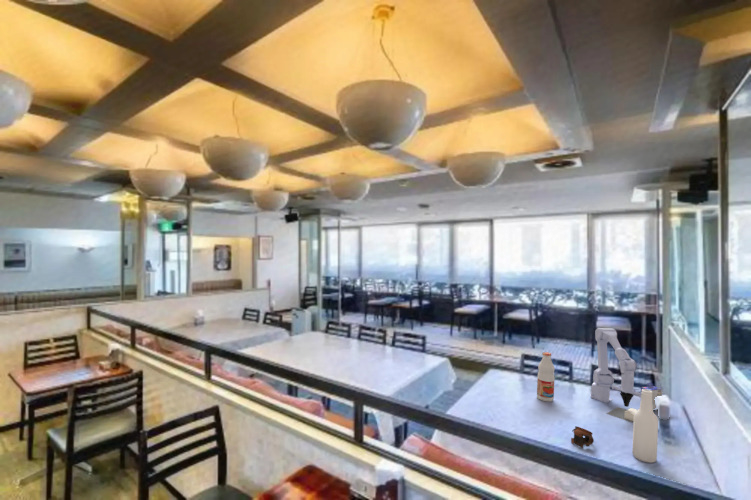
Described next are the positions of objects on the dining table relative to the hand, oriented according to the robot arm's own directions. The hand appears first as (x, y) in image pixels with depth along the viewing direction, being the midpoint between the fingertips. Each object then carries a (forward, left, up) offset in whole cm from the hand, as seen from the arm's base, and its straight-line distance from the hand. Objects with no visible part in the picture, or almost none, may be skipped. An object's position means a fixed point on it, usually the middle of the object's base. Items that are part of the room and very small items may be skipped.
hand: (626, 406), depth 209 cm
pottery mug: (+1, -52, -6) cm, 52 cm away
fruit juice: (-38, -16, -6) cm, 42 cm away
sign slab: (+1, 0, -3) cm, 4 cm away
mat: (0, +1, -6) cm, 6 cm away
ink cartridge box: (+4, +24, -6) cm, 25 cm away
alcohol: (+22, -41, -6) cm, 47 cm away
